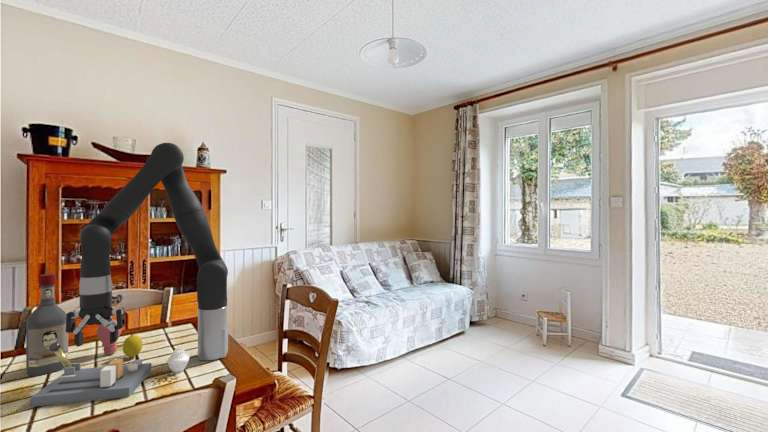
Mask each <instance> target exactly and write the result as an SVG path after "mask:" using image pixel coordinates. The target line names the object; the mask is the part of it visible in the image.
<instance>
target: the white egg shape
mask: <svg viewBox="0 0 768 432" xmlns="http://www.w3.org/2000/svg"><path fill="white" fill-rule="evenodd" d="M189 360H190V356H189V354H187V353H186V351H185V349H184V348H176V349H174V350H173V351H172V352H171V354H170V356H169V357H168V359H166V363H167V365H168V367H169V369H170V370H171V372H172V373H181V372H183V371H185V368H186V367H187V365H188V363H189Z"/></svg>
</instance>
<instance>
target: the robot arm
mask: <svg viewBox="0 0 768 432" xmlns="http://www.w3.org/2000/svg"><path fill="white" fill-rule="evenodd" d="M184 158H185V157H184V153H183V150H182V149H181V148H180V146H178V145H177V144H175V143H172V142H162V143H159V144H157V145H156V146H154V147H153V149H152V150H151V152H150V155H149V156H148V158H147V160H146V161H145V163H144V164H143V165H142V167H141V168H140V169H139V170H138V172H137V173H136V174H135V175H134V176H133V177H132V178H131V179H130V180H129V181H128V182H127V183H126V184H125V185H123V187H122V188H121V189H120V190H119V191H118V192H117V193H116V194H115V195H114V196H113V197H112V198H111V200H109V202H107V203H106V205H105V206H104V207H103V209H101V211H100V212H99V213H98V214H96V216H95V217H93V218H92V219H91V220H90V221H89V222H88V223H87V224H86V225H84V227H83V228H82V229H81V230H80V232H79V240H80V250H81V260H80V270H79V271H80V274H79V275H80V279H79V286H78V287H79V289H78V292H79V309H80V310H79V311H78V310H75V309H73V310H71V311H69V312H67V313H66V314H67V317H66V332H67V333H68V334H69V333H71V334H73V335H74V336H73V338H74V343H73V344H74V345H75V346H76V347H78V348H79V347H81V346H83V345H84V332H83V331H84V329H85V328H86V327H87V326H94V325H96V326H99V325H101V324H103V325H104V326H105V327H107V328H108V329H109V330H110V331H111V332H110V344H113V343H115V342H116V341H118V339H119V338H118V329H121V328H122V329H123V328H124V327H125V326H126V314H125V312H126V311H125V308H124V307H120V308H116V309H115V308H114V309H113V307H112V306H113V287H112V285H113V282H112V277H111V276H112V275H111V257H110V256H111V249H112V248H111V247H112V235H114V233H115V232H116V231H117V230H118V229H119V228H120V227H121V226H122V225H123V224H125V223H126V222H127V221H128V220H129V219H130V218H131V217H132V216H133V215H134V213H136V211H137V210H138V209H139V208H140V207H141V205H142V204H143V203H144V201H145V200H146V199H147V198H148V197H149V195H150V194H151V193H152V191H153V190H154V189H155V187H156V186H158V184H159V183H160V182H161V184H162V185H163V188H164V190H165V192H166V196H167V200H168V204H169V206H170V210H171V213H172V214H173V215H172V216H173V218H174V220H175V222H176V226H177V228H178V230H179V231H180V234H181V235H182V236H183V238H184V240H185V241H186V243H187V244H188V246H189V247H190V248H191V250H192V252H193V254H194V257H195V260H196V262H197V266H198V272H197V276H196V301H197V359H198V360H201V361H214V360H218V359H223V358H226V356H227V355H228V352H229V325H228V275H229V270H228V269H229V268H228V267H227V265H226V263H225V261H224V259H223V257H222V256H221V254H220V252H219V250H218V249H217V248H218V247H217V246H216V244H215V241H214V236H213V233H212V230H211V227H210V224H209V221H208V218H207V215H206V214H205V210H204V208H203V206H202V203H201V202H200V200H199V199H198V197H197V195H196V194H195V192H194V191H193V190H192V188H191V187H190V184H189V182H188V181H187V177H186V174H185V171H184V167H183V163H184V160H185V159H184ZM112 315H114V316H115V317H116V320H117V324H116V323H115V321H114V320H115V319H113V317H112ZM77 318H79V319H81V321H80V322H79V324H78V325H77V324H76V323H77ZM76 325H77V327H76Z"/></svg>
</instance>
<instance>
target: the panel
mask: <svg viewBox="0 0 768 432" xmlns="http://www.w3.org/2000/svg"><path fill="white" fill-rule="evenodd" d="M71 364H72V365H73V367H67V368H64V369H63V373H62V374H61V375H59V376H58V377H57V378H55V379H54V380H52V381H51V382H50V383H48V384H47V385H45V386H44V387H43V388H42V389H40V390H39V391H38V392H35V394H33V395H32V396H30V408H34V407H43V406H53V405H62V404H63V405H64V404H72V403H81V402H91V401H101V400H103V401H104V400H110V399H120V398H121V399H122V398H128V397H129V398H130V396H131V395H132V394H133V393H134V392H135V391H136V390H137V389H138V387H139V386H140V385H141V384H142V382H143V381H144V380H145V379H147V377H148V376H149V374H150V373H151V372H152V369H153V366H152V365H153V364H152V362H148V363H147V362H146V363H143V359H142V358H141V359H135V360H132V361H131V363H130V364H123V375H122V376H121V377H120V378H119V379H116V382H115V383H113V384H112V385H111V386H108V387H100V371H101V370H102V369H103V368H104V367H105V366H98V367H85V368H82V362H71Z"/></svg>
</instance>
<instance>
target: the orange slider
mask: <svg viewBox="0 0 768 432" xmlns="http://www.w3.org/2000/svg"><path fill="white" fill-rule="evenodd" d="M115 365H116V379H119V378H120V377H121V376H122V375H123V365H124V358H118V359H116V358H115V359H112V360H111V361H110V362H109V363H108V366H115Z"/></svg>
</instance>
